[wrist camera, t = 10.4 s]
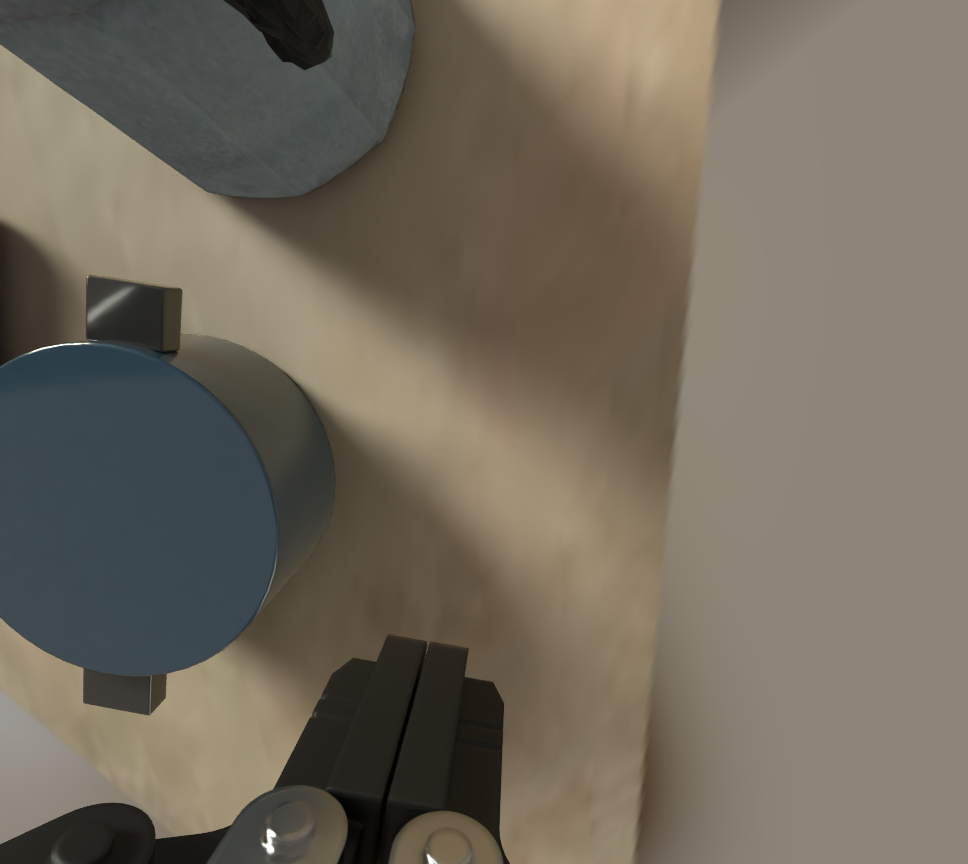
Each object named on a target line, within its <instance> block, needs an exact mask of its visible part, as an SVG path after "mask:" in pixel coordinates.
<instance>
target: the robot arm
mask: <svg viewBox="0 0 968 864" xmlns="http://www.w3.org/2000/svg"><path fill="white" fill-rule="evenodd" d="M426 650H427V641H424V640H418V639H412V638H407V637H401V636H395V635H388V636H387V638H386V640H385V642H384V645H383V647H382V650H381V652H380V655H379V657H378V660H377V662H373V661H368V660H362V659H356V658H352V659H351V660H350V661H349V662H347V663H346V664H345V665H343V666H342V667H341V668H339V669H338V670H337V671H336V672H334V673H333V674H332V676H331V678H330V680H329V682H328V684H327V686H326V688H325V689H324V691H323V693H322V696H321V699H319V701H318V703H317V705H316V707H315V709H314V711H313V713H312V717H310V719H309V721H308V723H307V725H306V727H305V729H304V730H303V732H302V734H301V736H300V738H299V740H298V742H297V744H296V746H295V748H294V750H293V752H292V754H291V756H290V758H289V760H288V762H287V764H286V766H285V768H284V769H283V771H282V773H281V775H280V777H279V779H278V781H277V783H276V785H275V787H274V789H273V790H271V791H268V792H266V793H264V794H262V795H260V796H259V797H257V798H256V799H254V800H253V801H252V802H250V803H249V804H248V805H247V806H246V807H245V808H244V809H243V810H242V811H241V812H240V814H239V815H238V816H237V817H236V819H235V820H234V822H233V824H232V825H230V826H228V827H225V828H223V829H219V830H216V831H213V832H207V833H202V834H194V835H186V836H178V837H170V838H161V839H155V829H154V825H153V823H152V820H151V819H150V818H149V817H148V815H147V814H146V813H144V812H143V811H142V810H140V809H138V808H136V807H134V806H131V805H127V804H123V803H101V804H96V805H91V806H87V807H83V808H80V809H77V810H74V811H72V812H70V813H67V814H65V815H63V816H61V817H58V818H56V819H54V820H52V821H50V822H48V823H45V824H43V825H41V826H39V827H37V828H35V829H32V830H30V831H28V832H26V833H24V834H22V835H20V836H18V837H15V838H13V839H11V840H9V841H7V842H4V843H3V844H0V864H510V863H509V861H508V860H507V858H506V856H505V853H504V851H503V848H502V845H501V840H500V831H499V825H500V798H501V771H502V744H503V717H504V702H503V700H502V699H501V697H500V695H499V693H498V691H497V689H496V687H495V685H494V683H493V682H490V681H484V680H478V679H473V678H467V677H465V670H466V663H467V656H468V650H469V648H466V647H460V646H454V645H448V644H442V643H437V642H431V641H430V643H429V647H428V651H427V654H426ZM425 657H426V658H425Z"/></svg>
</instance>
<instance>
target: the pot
mask: <svg viewBox="0 0 968 864" xmlns="http://www.w3.org/2000/svg"><path fill="white" fill-rule="evenodd" d="M181 311H182V289H180V288H177V287H170V286H164V285H158V284H152V283H145V282H139V281H133V280H127V279H120V278H114V277H107V276H94V275H89V276H87V277H86V339H87V340H89V341H80V342H66V343H60V344H55V345H50V346H44V347H41V348H38V349H35V350H32V351H30V352H27V353H24V354H22V355H20V356H18V357H16V358H14V359H12V360H10V361H8V362H7V363H5V364H3V365H2V366H0V618H1V619H3V620H4V621H5V622H6V623H7V624H8V625H9V626H10V627H11V628H12V629H14V630H15V631H16V632H17V633H19V634H20V635H21V636H22V637H24V638H25V639H26V640H28V641H29V642H31V643H33V644H34V645H36V646H37V647H39V648H40V649H42V650H43V651H45V652H47V653H49V654H51V655H53V656H55V657H57V658H59V659H61V660H63V661H66V662H68V663H71V664H74V665H77V666H79V667H82V668H84V676H83V702H84V703H86V704H91V705H96V706H102V707H107V708H112V709H117V710H123V711H128V712H133V713H139V714H144V715H150V714H151V713H152V712H153V711H154V710H155V709H156V708H157V707H158V706H159V705H160V704H161V703H162V702H163V700H164V699H165V698H166V679H167V673H171V672H175V671H179V670H183V669H186V668H189V667H191V666H194V665H196V664H199V663H201V662H204V661H206V660H208V659H209V658H211V657H213V656H214V655H216V654H218V653H219V652H221V651H223V650H224V649H225V648H226V647H228V646H229V645H230V644H231V643H233V642H234V641H235V640H236V639H238V638H239V636H240V635H241V634H242V633H243V632H244V631H245V630H246V629H247V628H248V627H249V626H250V624H251V623H252V622H253V621H254V620H255V619H256V618H257V617H258V615H259V614H260V613H261V612H262V611H263V610H264V609H265V607H266V606H267V605H268V604H269V603H270V602H271V601H272V599H273V598H274V597H275V596H276V595H277V594H278V593H279V591H280V590H281V589H282V588H283V587H284V586H285V585H286V583H287V582H288V581H289V580H290V579H291V578H292V577H293V576H294V574H295V573H296V572H297V571H298V570H299V569H300V568H301V566H302V565H303V564H304V563H305V562H306V561H307V560H308V558H309V557H310V556H311V555H312V553H313V552H314V550H315V549H316V547H317V546H318V544H319V543H320V541H321V539H322V537H323V535H324V533H325V531H326V529H327V526H328V522H329V519H330V516H331V513H332V508H333V502H334V496H335V472H334V462H333V457H332V453H331V448H330V444H329V441H328V438H327V436H326V433H325V430H324V428H323V425H322V423H321V421H320V419H319V418H318V416H317V414H316V412H315V410H314V408H313V407H312V405H311V404H310V402H309V401H308V400H307V398H306V397H305V395H304V394H303V393H302V391H301V390H300V389H299V388H298V387H297V386H296V385H295V383H294V382H293V381H292V380H291V379H290V378H289V377H288V376H287V375H285V374H284V373H283V372H282V371H281V370H280V369H279V368H278V367H276V366H275V365H273V364H272V363H271V362H269V361H268V360H266V359H265V358H263V357H262V356H260V355H258V354H257V353H255V352H253V351H251V350H249V349H247V348H245V347H243V346H240V345H238V344H235V343H232V342H230V341H227V340H223V339H219V338H214V337H210V336H202V335H192V334H185V335H181Z"/></svg>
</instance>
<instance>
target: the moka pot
mask: <svg viewBox="0 0 968 864" xmlns="http://www.w3.org/2000/svg"><path fill="white" fill-rule="evenodd" d="M414 33H415V21H414V15H413V9H412V5H411V1H410V0H0V44H1V45H2V46H3V47H5V48H6V49H8V50H9V51H10V52H12V53H13V54H15V55H16V56H17V57H19V58H20V59H21V60H23V61H24V62H26V63H27V64H28V65H30V66H31V67H32V68H34V69H35V70H37V71H38V72H39V73H41V74H42V75H43V76H45V77H46V78H47V79H49V80H50V81H52V82H53V83H54V84H56V85H57V86H58V87H60V88H61V89H63V90H64V91H66V92H67V93H69V94H70V95H72V96H73V97H74V98H76V99H77V100H79V101H80V102H82V103H83V104H85V105H86V106H88V107H89V108H90V109H92V110H93V111H95V112H96V113H97V114H99V115H100V116H101V117H103V118H104V119H106V120H107V121H108V122H110V123H111V124H112V125H114V126H115V127H117V128H118V129H119V130H121V131H122V132H124V133H125V134H126V135H128V136H129V137H130V138H132V139H133V140H135V141H136V142H137V143H139V144H140V145H142V146H143V147H144V148H146V149H147V150H148V151H150V152H151V153H153V154H154V155H155V156H157V157H158V158H159V159H161V160H162V161H164V162H165V163H167V164H168V165H169V166H171V167H172V168H174V169H175V170H177V171H178V172H179V173H181V174H182V175H184V176H185V177H187V178H188V179H189V180H191V181H192V182H194V183H195V184H197V185H198V186H200V187H201V188H202V189H204V190H205V191H207V192H210V193H215V194H220V195H228V196H236V197H245V198H275V197H290V196H301V195H304V194H306V193H308V192H311V191H313V190H315V189H317V188H318V187H320V186H322V185H324V184H326V183H327V182H329V181H331V180H332V179H333V178H334V177H335V176H337V175H338V174H340V173H341V172H343V171H344V170H346V169H347V168H348V167H350V166H351V165H353V164H354V163H355V162H357V161H358V160H359V159H360V158H361V157H362V156H363V155H365V154H366V153H367V152H368V151H369V150H371V149H372V148H373V147H375V146H377V145H378V144H380V143H381V142H382V141H383V139H384V137H385V136H386V134H387V132H388V129H389V126H390V124H391V121H392V119H393V117H394V114H395V112H396V109H397V106H398V102H399V98H400V96H401V94H402V92H403V89H404V85H405V80H406V76H407V73H408V69H409V66H410V58H411V51H412V45H413V39H414Z"/></svg>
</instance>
